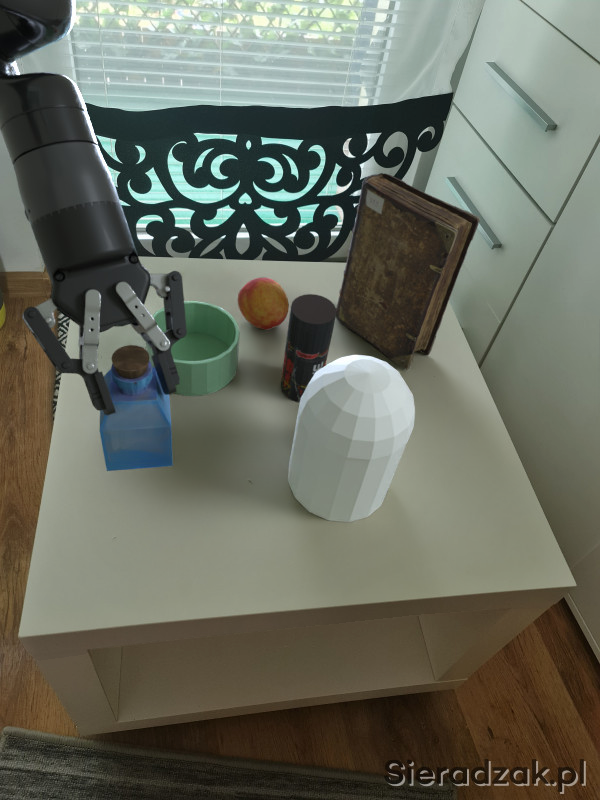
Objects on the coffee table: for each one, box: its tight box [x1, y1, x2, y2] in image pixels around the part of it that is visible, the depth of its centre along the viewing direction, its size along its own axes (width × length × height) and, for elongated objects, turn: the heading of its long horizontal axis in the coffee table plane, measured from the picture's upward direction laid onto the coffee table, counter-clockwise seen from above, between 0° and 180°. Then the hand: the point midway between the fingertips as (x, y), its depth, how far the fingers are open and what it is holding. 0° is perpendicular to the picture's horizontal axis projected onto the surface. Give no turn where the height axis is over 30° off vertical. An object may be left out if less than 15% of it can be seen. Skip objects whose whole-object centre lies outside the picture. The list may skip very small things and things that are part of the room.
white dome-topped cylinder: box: [287, 354, 416, 523], centre depth 73 cm, size 14×13×20 cm
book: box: [335, 172, 481, 371], centre depth 91 cm, size 17×7×25 cm, turn 42°
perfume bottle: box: [99, 344, 174, 472], centre depth 57 cm, size 6×6×12 cm
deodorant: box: [279, 293, 337, 403], centre depth 85 cm, size 6×6×15 cm
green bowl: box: [145, 300, 241, 397], centre depth 89 cm, size 13×13×6 cm
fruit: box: [237, 276, 290, 331], centre depth 96 cm, size 8×8×8 cm
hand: (141, 402), depth 54 cm, fingers closed on perfume bottle, 5 cm apart
